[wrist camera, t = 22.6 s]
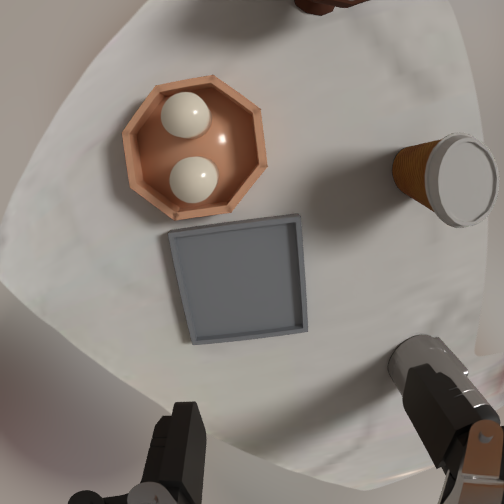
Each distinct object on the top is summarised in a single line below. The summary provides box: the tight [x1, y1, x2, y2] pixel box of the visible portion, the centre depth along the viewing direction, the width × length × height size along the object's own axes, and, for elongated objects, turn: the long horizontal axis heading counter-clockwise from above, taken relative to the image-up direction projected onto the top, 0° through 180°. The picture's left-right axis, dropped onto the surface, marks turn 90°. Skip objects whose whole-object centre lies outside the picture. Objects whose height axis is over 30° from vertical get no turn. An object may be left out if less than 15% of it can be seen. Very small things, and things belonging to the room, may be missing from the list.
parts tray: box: [168, 214, 308, 345], centre depth 39 cm, size 15×15×2 cm
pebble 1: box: [161, 92, 212, 139], centre depth 30 cm, size 4×4×6 cm
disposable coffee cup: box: [392, 133, 499, 228], centre depth 30 cm, size 10×10×12 cm
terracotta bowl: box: [122, 75, 268, 221], centre depth 33 cm, size 15×15×4 cm
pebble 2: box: [170, 156, 219, 203], centre depth 32 cm, size 4×4×6 cm
